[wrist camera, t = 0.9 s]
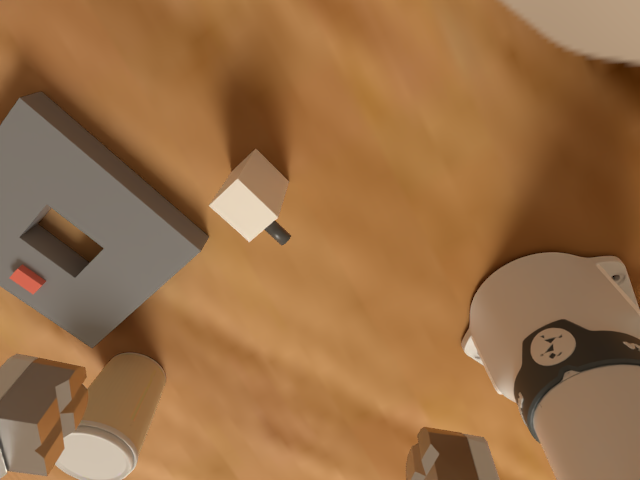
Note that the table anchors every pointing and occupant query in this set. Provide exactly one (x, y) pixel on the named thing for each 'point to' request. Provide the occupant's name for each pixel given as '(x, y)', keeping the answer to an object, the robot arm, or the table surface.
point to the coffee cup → (114, 419)
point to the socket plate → (81, 223)
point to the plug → (253, 198)
